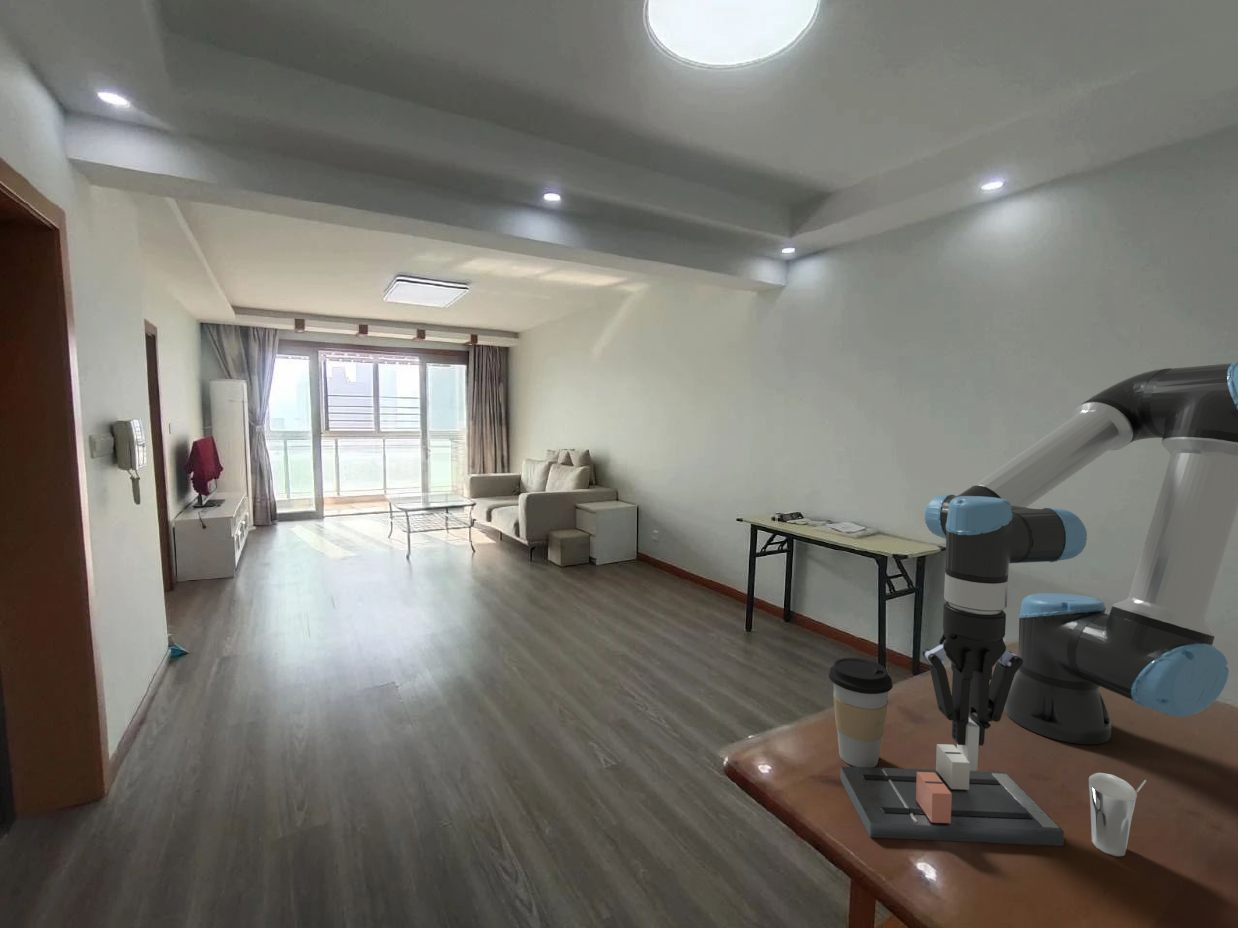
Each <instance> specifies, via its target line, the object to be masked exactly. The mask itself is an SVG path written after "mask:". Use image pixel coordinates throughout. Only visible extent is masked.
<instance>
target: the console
mask: <svg viewBox="0 0 1238 928" xmlns="http://www.w3.org/2000/svg"><path fill="white" fill-rule="evenodd" d="M839 769H840V772H839V773H840V777H839V779H840V781H841V783H842V785H843V787H844V789H845V791H846V793H847V795H848V798H849V799H850V801H851V802H852V804H853V807H854V808H855V811H856V812H857V815H858V816H859V818H860V820H861V822H862V824H863V826H864V828H865V830H866V832H867V835H868V836H869V837H870V838H874V839H875V838H876V839H878V838H880V839H895V840H896V839H899V840H920V841H921V840H922V841H941V842H942V841H944V842H964V843H965V842H969V843H987V844H988V843H990V844H1012V845H1031V846H1032V845H1033V846H1054V847H1056V846H1057V847H1063V846H1064V839H1065V831H1064V830H1063V829H1062V827H1060V826H1059V824H1057V822H1056V821H1054V819H1052V818H1051V816H1049V815H1048V813H1046V812H1045V811H1044V809H1043V808H1042V807H1041V806H1040V805H1038V803H1037V802H1035V801H1034V799H1033V798H1031V797H1030V795H1029V794H1027V792H1026V791H1024V789H1023V788H1022V787H1021V786H1020V785H1019V784H1017V782H1016V781H1015V780H1014V779H1013V778H1012V777H1011V776H1009V774H1008V773H1007V772H1003V771H979V770H977V771H970V775H969V790H964V789H951V788H950V787H949V786H948V784H947V783H946V782H945V781H944V779H943V778H942V777H941V776H940V774H939V773H938V772H937V771H936V769H923V768H922V769H921V768H920V769H919V768H901V767H900V768H897V767H895V768H894V767H855V766H844V765H841V766H840V768H839ZM917 772H932V773H936V775H937V776H938V777H939V778H940V780H941V781H942V782H943V783H944V785H945V786H946V787H947V789H948V790H949V791H950V792H951V794H952V801H951V823H933V822H931V821H930V820H929V818H928V817H927V815H926V814H925V812H924V811H923V809H922V808H921V806H920V805H919V804H918V802H917V801H916V780H917Z"/></svg>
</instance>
